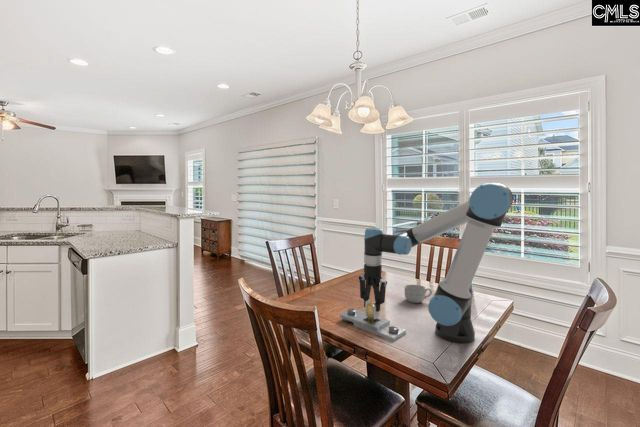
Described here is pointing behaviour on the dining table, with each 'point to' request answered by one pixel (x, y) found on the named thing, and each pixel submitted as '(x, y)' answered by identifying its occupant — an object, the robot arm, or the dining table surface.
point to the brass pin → (370, 312)
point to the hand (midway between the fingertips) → (371, 316)
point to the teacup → (416, 293)
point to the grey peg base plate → (378, 327)
